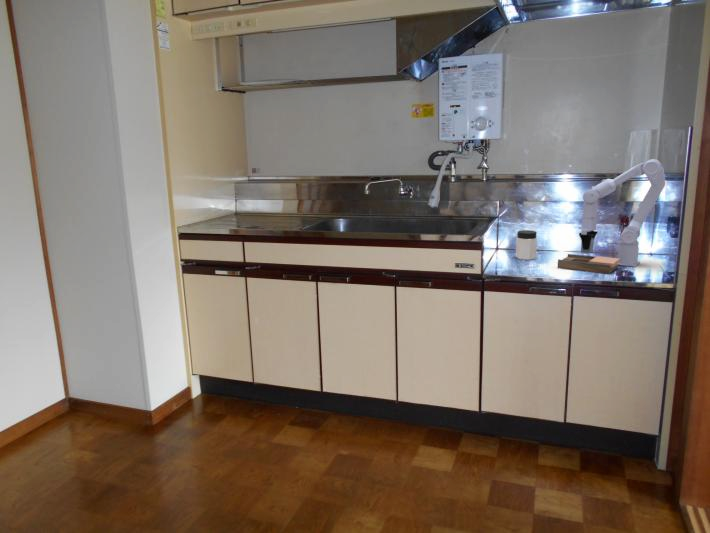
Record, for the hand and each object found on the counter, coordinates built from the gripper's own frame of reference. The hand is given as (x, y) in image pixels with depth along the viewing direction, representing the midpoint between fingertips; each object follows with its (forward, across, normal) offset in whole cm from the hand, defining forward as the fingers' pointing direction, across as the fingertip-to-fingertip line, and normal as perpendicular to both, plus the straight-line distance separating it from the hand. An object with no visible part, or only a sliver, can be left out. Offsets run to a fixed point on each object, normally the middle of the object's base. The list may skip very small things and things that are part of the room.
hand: (587, 248), depth 240 cm
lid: (+3, +13, +10) cm, 17 cm away
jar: (+6, +8, -24) cm, 26 cm away
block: (+2, 0, 0) cm, 2 cm away
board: (+5, +13, +4) cm, 15 cm away
